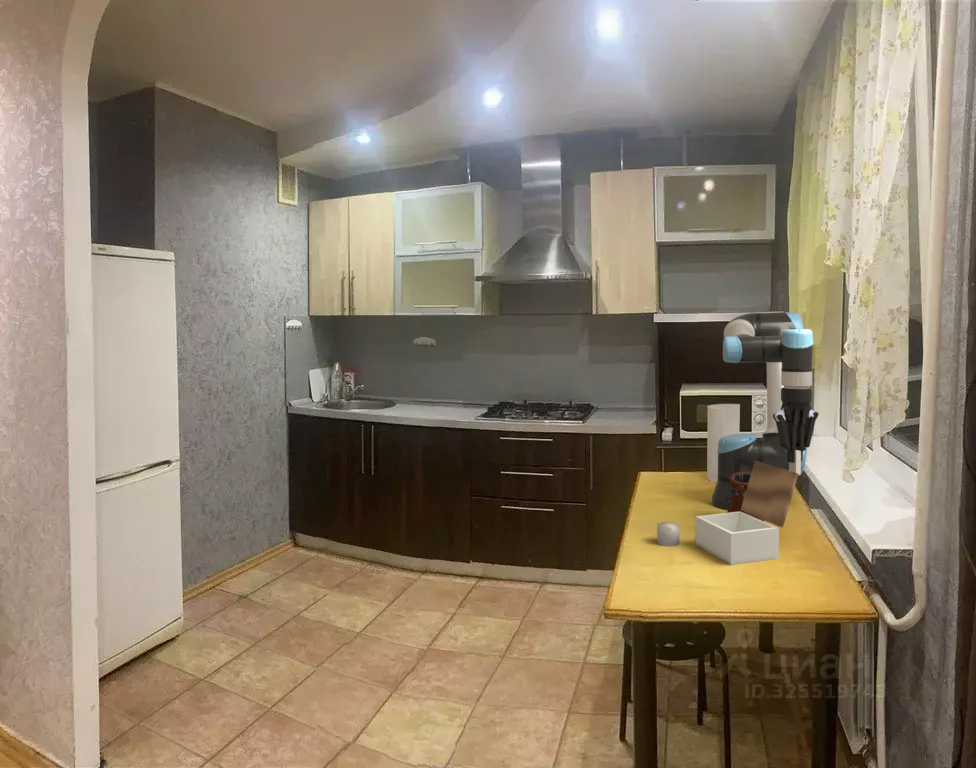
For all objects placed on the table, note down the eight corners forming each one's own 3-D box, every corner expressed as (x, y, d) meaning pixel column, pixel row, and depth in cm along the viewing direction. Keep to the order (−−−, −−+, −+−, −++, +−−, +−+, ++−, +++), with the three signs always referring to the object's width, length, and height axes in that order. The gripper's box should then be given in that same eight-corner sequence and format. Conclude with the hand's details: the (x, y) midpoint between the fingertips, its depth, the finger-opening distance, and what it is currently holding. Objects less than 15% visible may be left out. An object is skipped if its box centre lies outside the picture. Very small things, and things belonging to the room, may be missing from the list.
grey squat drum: (672, 538, 191) (672, 520, 190) (683, 544, 185) (683, 526, 184) (653, 540, 189) (653, 522, 189) (664, 547, 183) (664, 529, 183)
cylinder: (699, 481, 255) (700, 408, 252) (717, 472, 268) (717, 402, 266) (745, 487, 244) (746, 411, 241) (761, 478, 257) (762, 405, 254)
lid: (740, 510, 188) (744, 511, 188) (780, 527, 172) (784, 528, 172) (754, 460, 188) (759, 461, 188) (796, 473, 172) (800, 474, 172)
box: (739, 539, 188) (740, 511, 188) (778, 558, 173) (778, 528, 172) (695, 544, 185) (695, 516, 184) (730, 564, 169) (731, 533, 169)
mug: (760, 537, 189) (761, 485, 188) (717, 532, 195) (718, 481, 193) (765, 520, 205) (766, 471, 204) (726, 515, 211) (726, 468, 209)
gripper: (806, 384, 185) (804, 469, 187) (766, 387, 181) (764, 473, 184) (827, 387, 178) (825, 474, 180) (785, 389, 174) (783, 479, 176)
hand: (794, 473), depth 182 cm, fingers closed
